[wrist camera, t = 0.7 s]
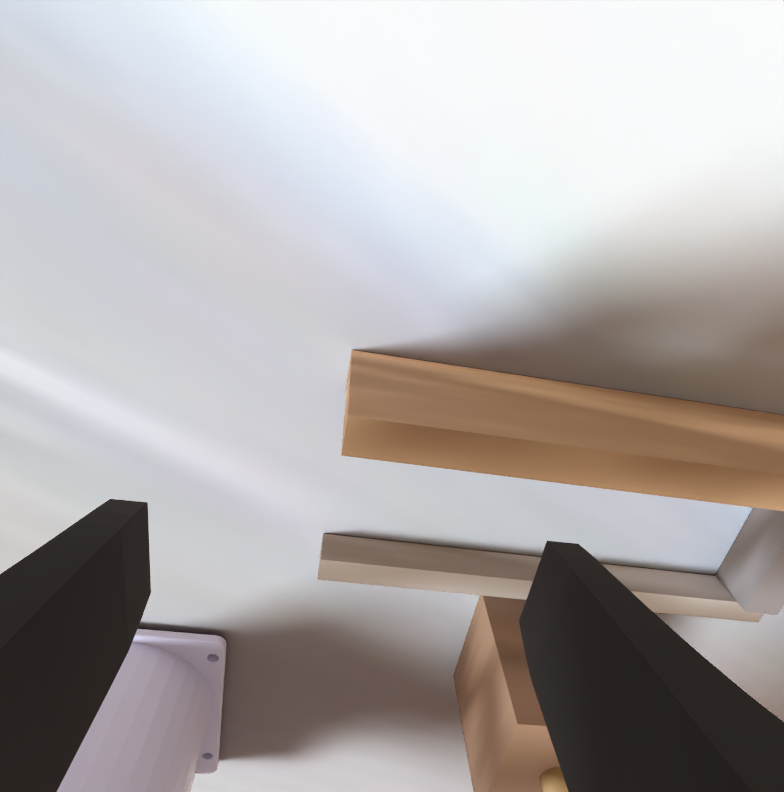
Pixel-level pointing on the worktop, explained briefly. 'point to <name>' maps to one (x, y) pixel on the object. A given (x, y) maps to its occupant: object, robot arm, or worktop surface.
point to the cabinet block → (503, 706)
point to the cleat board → (565, 475)
